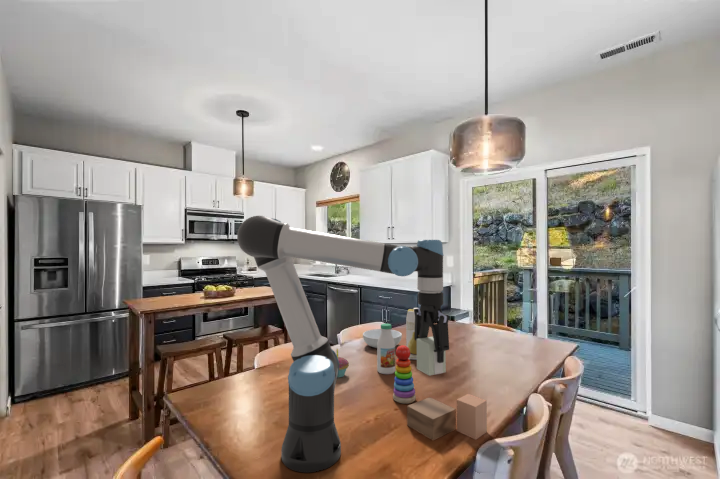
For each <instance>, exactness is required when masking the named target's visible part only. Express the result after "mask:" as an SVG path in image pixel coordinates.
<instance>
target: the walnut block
mask: <svg viewBox="0 0 720 479" xmlns="http://www.w3.org/2000/svg"><path fill="white" fill-rule="evenodd" d="M406 409H407V410H406V411H407V415H406V416H407V419H406V423H407V425H406V426H408V427H409V428H411V429H413V430H414V431H416V432H418V433H419V434H422V435H423V436H424V437H426V438H428V439H429V440H432V441H435V440H437V439H439V438H441V437H443V436H445V435H447V434H449V433H451V432H454V431H455V430H457V408H454V407H452V406H450V405H449V404H446V403H443V402H442V401H439V400H438V399H436V398H432V397H430V396H429V397H427V398H424V399H422V400H419V401H417V402H413V403H412V404H411V403H410V404H409V405H407V406H406Z"/></svg>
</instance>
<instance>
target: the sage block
mask: <svg viewBox="0 0 720 479" xmlns="http://www.w3.org/2000/svg"><path fill="white" fill-rule="evenodd" d="M439 347H440V346H439ZM434 350H436V349H435V344H434V339H433V335H432V336H428V337H426V338H419V339H417V360H416V370H418V371H420V372H422V373H424V374H425V375H427V376H428V377H431V376H433V375H436V374H434ZM446 352H447V350H446V351H444V362H443V373H442V374H444V373H447V370H446V369H447V368H446V367H447V366H446V365H447V364H446V363H447V361H446V359H447V358H446V355H447V354H446Z"/></svg>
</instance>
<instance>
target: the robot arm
mask: <svg viewBox="0 0 720 479" xmlns="http://www.w3.org/2000/svg"><path fill="white" fill-rule="evenodd" d="M236 239H237V243H238V246H239V248H240V250H242V251H243V253H245V254H247V255H248V256H250V257H252V258H254V261H255V264H256V266H257V269H259V270H261V271H263V272H265V274H266V278H267V280H268V283H269V286H270V288H271V291H272V293H273V296H274V298H275V301H276V304H277V307H278V309H279V312H280V315H281V318H282V321H283V323H284V326H285V328H286V330H287V334H288V336H289V338H290V341H291V344H292V346H293V348H292V351H291V353H290V356H291V359H292V361H293V362H292V363H291V365H290V366H289V371H288V376H287V384H288V425H287V426H288V427H287V429H286V432H285V435H284V439H283V442H282V445H281V462H282V463H283V465H284V466H285V467H286V468H288V469H289V470H292V471H295V472H299V473H316V471H317V472H320V471H319V470H321V471H324V470H326V469H328V468H330V467H332V466H333V465H335V463H337V462H338V461H339V459H340V458H341V454H342V443H341V440H340V436H339V433H338V429H337V427H336V423H335V389H336V384H337V379H338V377H337V375H338V372H339V361H338V357H339V356H338V357H337V352H335V351H334V350H333V349H332V347H331V345H330V341H329V340H328V338H327V337H325V336H322V335H321V333H320V329H319V327H318V325H317V323H316V319H315V317H314V314H313V311H312V310H311V306H310V303H309V302H308V298H307V295H306V293H305V290H304V289H303V288H304V287H303V285H302V282H301V281H300V277H299V274H298V271H297V270H296V269H297V268H296V267H295V265H294V258H296V259H302V260H309V261H314V262H321V263H326V264H332V265H339V266H345V267H351V268H355V269H356V268H357V269H364V270H369V271H375V272H380V273H386V274H392V275H395V276H398V277H408V276H410V275H412V274H414V272H417V284H416V285H417V290H418V292H417V304H418V305H419V306H420V307H417V308H418V309H414V313H415V334H414V339H415V341H416V340H417V339H419V338H426V337H429V331H430V328H431V332H432V336H433V339H434V344H435V349H436V350H434V374H435V375H440V374H444V373H443V362H444V351H446V352H447V351H449V350H450V340H449V339H450V338H449V320H450V316H449V315H448V314H444V313H443V311H442V306H443V305H444V292H442V291H444V247H443V242H442V241H441V240H440V239H419V240H417V243H416V245H414V246H413V245H412V246H406V245H398V244H397V245H396V244H390V243H383V242H380V241H379V242H378V241H373V240H368V239H367V240H366V239H360V238H354V237H349V236H342V235H337V234H331V233H325V232H320V231H312V230H307V229H302V228H296V227H295V228H294V227H291V226H290V224H289V223H287V222H282V221H281V220H279V219H276V218H272V217H268V216H265V215H264V216H263V215H253V216H250V217H249V218H246V219H245V220H244V221H243V222H242V223H241V224H240V225H239V227H238V230H237V234H236ZM418 335H419V336H418ZM439 346H440V347H439ZM323 469H324V470H323Z"/></svg>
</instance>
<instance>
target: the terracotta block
mask: <svg viewBox="0 0 720 479" xmlns="http://www.w3.org/2000/svg"><path fill="white" fill-rule="evenodd" d="M487 403H488V402H487V400H486V399H484V398H480V397H479V396H478V397H477V396H475V395H472V394H470V393H467V394H465V395H463V396H461V397H459V398H457V399H456V431H457V432H458V433H461V434H463V435H465V436H467V437H469V438H472V439H473V440H477V439H479V438H480V437H482V436H483V435H485V434H486V433H487V432H488V427H487V426H488V424H487V423H488V422H487V421H488V419H487V417H488V416H487V415H488V414H487V409H488V407H487V406H488V405H487Z"/></svg>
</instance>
